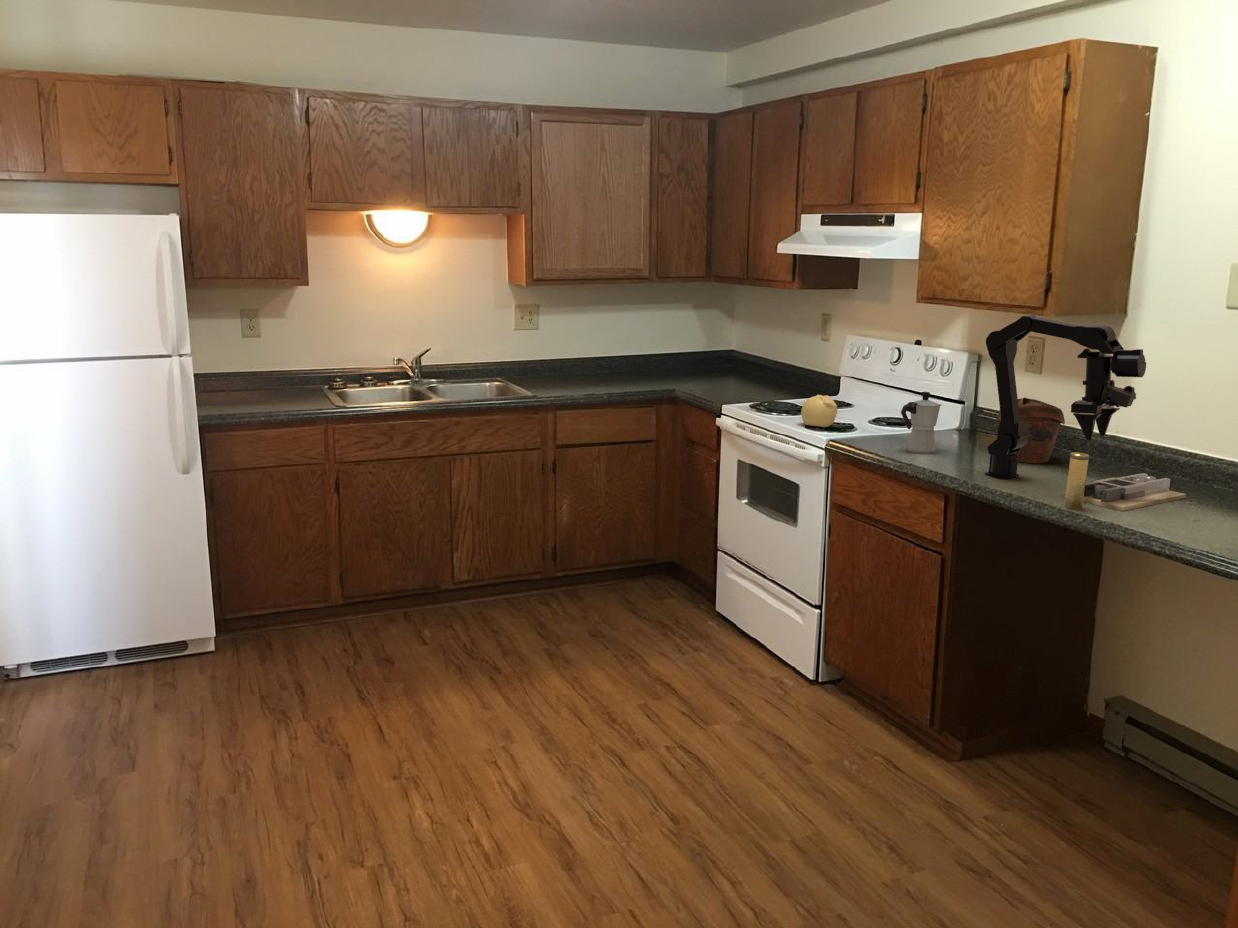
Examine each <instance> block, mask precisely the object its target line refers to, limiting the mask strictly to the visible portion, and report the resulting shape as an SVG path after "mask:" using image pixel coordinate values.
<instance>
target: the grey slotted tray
mask: <svg viewBox="0 0 1238 928" xmlns="http://www.w3.org/2000/svg"><path fill="white" fill-rule="evenodd" d="M1170 485H1171V478H1168V477H1163V478H1158V479H1157V478H1156V476H1152V475H1148V473H1144V472H1142V473H1137V474H1131V475H1126V476H1121V477H1119V476H1118V477H1110V478H1108V477H1107V478H1103V479H1097V480H1094V481H1092V482H1086V483H1085V491H1084V497H1087V496H1092V495H1093V498H1095V499H1101V502H1104V503H1107V502H1112V501H1117V500H1128V499H1133V498H1138V497H1143V496H1145V495H1148V494H1153V493H1158V492H1163V491H1168V490H1170Z"/></svg>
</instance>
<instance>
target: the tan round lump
mask: <svg viewBox="0 0 1238 928" xmlns="http://www.w3.org/2000/svg"><path fill="white" fill-rule="evenodd" d="M801 407H802V408H801V411H800V413H801V414H800V415H801V418H802V421H803V423H804V424H805V425H806V426H812V427H822V428H829V427H830V426H832V424H834V423H835V420H836V418H837V414H838V405H837V403H836V402H835V401H834V400H833V398H831V396H829V395H822V394H817V395H815V396H811V397H809V398H808V399H806V400H805V401H804V403H803V404H802V406H801Z"/></svg>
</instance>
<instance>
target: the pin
mask: <svg viewBox="0 0 1238 928" xmlns="http://www.w3.org/2000/svg"><path fill="white" fill-rule="evenodd" d="M1089 458H1090V454H1088V453H1085V452H1070V453H1069V463H1068V464H1069V465H1068V473H1067V481H1066V489H1065V492H1066V496H1065V497H1064V505H1063V506H1064V508H1067V509H1072V510H1082V509H1083V506H1084V502H1083V499H1084V491H1085V483H1087V482H1086V481H1087V473H1088V466H1089V460H1090V459H1089Z"/></svg>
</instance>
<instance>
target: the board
mask: <svg viewBox="0 0 1238 928" xmlns="http://www.w3.org/2000/svg"><path fill="white" fill-rule="evenodd" d="M1186 495H1187V494H1186V493H1182V492H1178V491H1174V490H1170V489H1169V490H1168V491H1163V492H1158V493H1153V494H1148V495H1145V496H1143V497H1138V498H1133V499H1128V500H1117V501H1112V502H1107V503H1104V502H1101V499H1095V498H1093V495H1092V496H1087V497H1084V499H1083V503H1086V504H1087V503H1088V504H1091V505H1095V506H1098V507H1099V506H1100V507H1104V508H1108V509H1112V510H1117V511H1120V512H1124V511H1129V510H1134V509H1138V508H1144V507H1148V506H1153V505H1157V504H1158V505H1159V504H1162V503H1163V504H1164V503H1168V502H1171V501H1178V500H1182V499H1186ZM1061 496H1062V497H1064V498H1065V496H1066V491H1062V493H1061Z"/></svg>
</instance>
